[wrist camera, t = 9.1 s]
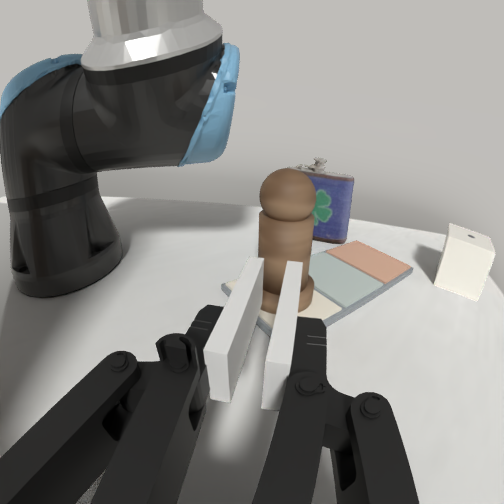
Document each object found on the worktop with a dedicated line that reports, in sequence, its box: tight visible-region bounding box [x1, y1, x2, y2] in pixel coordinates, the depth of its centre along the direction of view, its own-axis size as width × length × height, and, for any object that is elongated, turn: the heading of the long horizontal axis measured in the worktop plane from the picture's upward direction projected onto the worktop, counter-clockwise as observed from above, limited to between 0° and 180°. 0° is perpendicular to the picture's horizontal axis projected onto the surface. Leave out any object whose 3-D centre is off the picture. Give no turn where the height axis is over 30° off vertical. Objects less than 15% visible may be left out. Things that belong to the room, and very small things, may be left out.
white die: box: [434, 223, 496, 301], centre depth 25 cm, size 6×6×6 cm
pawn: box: [258, 168, 316, 314], centre depth 21 cm, size 5×5×10 cm
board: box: [221, 240, 413, 337], centre depth 26 cm, size 9×20×1 cm, turn 123°
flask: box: [288, 157, 354, 244], centre depth 35 cm, size 9×3×11 cm, turn 62°
